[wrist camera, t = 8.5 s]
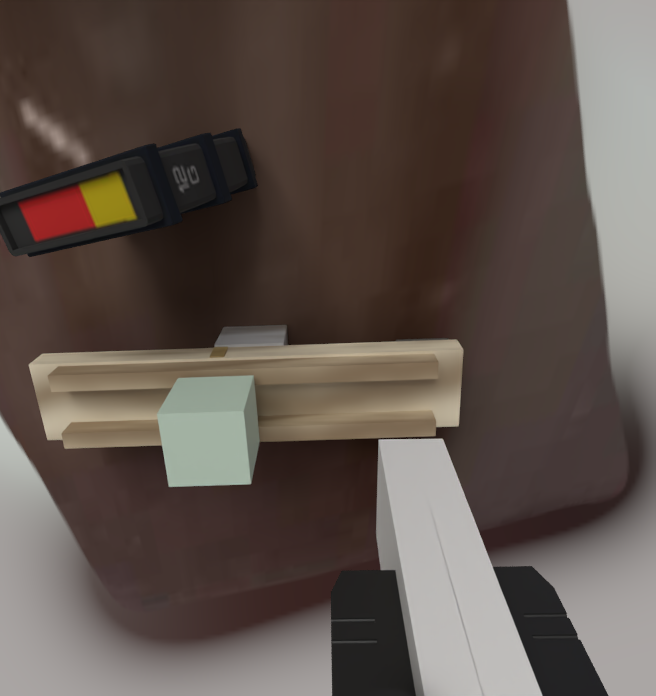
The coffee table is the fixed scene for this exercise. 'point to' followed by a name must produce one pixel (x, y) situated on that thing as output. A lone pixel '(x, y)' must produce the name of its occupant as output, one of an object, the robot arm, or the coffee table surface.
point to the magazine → (125, 193)
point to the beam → (257, 388)
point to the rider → (210, 431)
